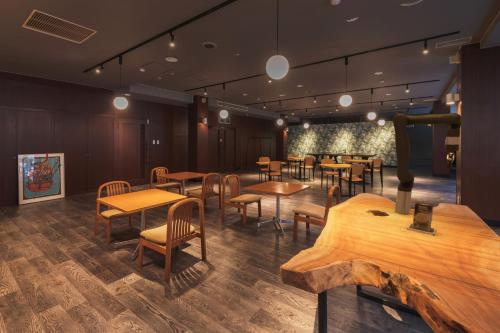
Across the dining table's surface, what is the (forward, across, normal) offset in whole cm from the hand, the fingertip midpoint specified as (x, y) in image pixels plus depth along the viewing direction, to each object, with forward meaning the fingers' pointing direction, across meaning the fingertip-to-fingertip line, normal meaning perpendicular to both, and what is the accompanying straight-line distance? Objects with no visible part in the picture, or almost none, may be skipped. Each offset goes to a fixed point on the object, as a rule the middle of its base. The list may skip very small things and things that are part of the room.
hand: (449, 167), depth 167 cm
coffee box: (+37, +32, -10) cm, 50 cm away
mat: (+37, +32, -10) cm, 50 cm away
